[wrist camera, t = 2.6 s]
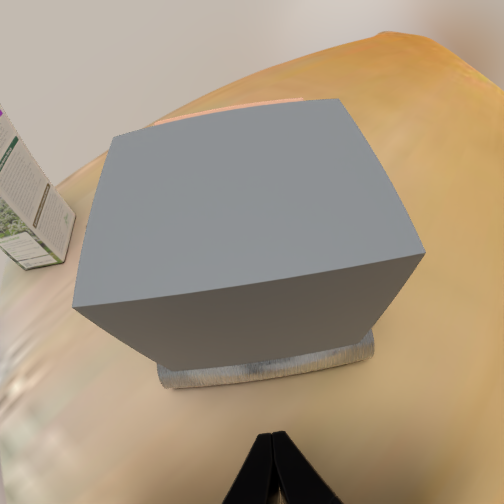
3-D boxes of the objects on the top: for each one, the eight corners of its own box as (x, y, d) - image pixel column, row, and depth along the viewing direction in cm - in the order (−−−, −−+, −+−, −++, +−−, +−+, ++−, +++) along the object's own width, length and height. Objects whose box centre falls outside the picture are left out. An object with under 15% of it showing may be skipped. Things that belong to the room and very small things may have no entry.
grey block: (358, 343, 15) (425, 252, 7) (172, 371, 15) (72, 307, 8) (324, 222, 19) (338, 98, 12) (170, 247, 19) (113, 137, 12)
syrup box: (77, 213, 26) (1, 96, 14) (65, 265, 23) (-39, 144, 11) (37, 225, 26) (-39, 124, 14) (23, 273, 23) (-74, 173, 11)
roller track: (366, 361, 17) (377, 352, 15) (172, 390, 17) (157, 385, 15) (319, 200, 24) (321, 179, 22) (170, 224, 24) (161, 205, 22)
